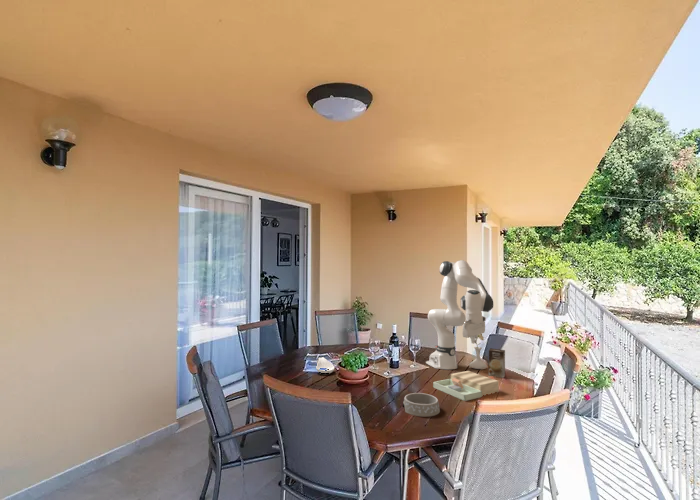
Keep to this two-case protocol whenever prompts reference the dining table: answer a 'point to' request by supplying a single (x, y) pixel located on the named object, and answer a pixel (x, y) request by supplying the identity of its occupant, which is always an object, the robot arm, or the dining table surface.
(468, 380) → the bench slab
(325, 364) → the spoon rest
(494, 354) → the coffee box
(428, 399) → the dog bowl
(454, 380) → the terracotta tile
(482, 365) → the flower in vase
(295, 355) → the dining table surface
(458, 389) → the slate tile
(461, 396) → the tray
